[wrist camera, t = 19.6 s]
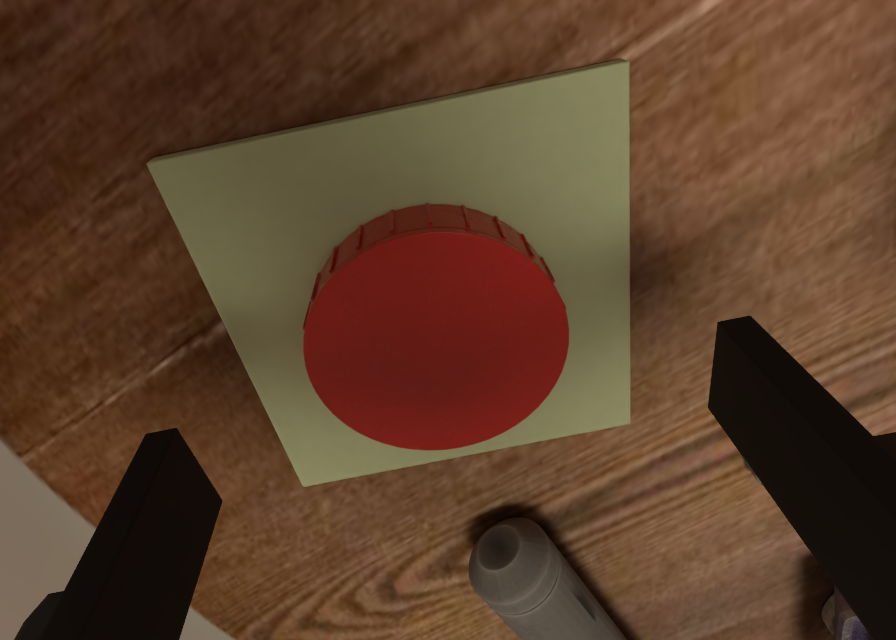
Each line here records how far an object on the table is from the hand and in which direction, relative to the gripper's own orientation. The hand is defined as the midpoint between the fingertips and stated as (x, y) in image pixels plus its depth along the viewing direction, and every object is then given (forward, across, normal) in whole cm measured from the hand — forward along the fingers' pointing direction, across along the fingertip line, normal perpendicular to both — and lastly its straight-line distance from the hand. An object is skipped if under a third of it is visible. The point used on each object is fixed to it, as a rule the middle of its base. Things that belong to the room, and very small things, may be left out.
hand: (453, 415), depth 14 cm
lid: (+4, 0, -1) cm, 4 cm away
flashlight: (+6, +5, -26) cm, 27 cm away
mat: (+7, 0, -1) cm, 7 cm away
